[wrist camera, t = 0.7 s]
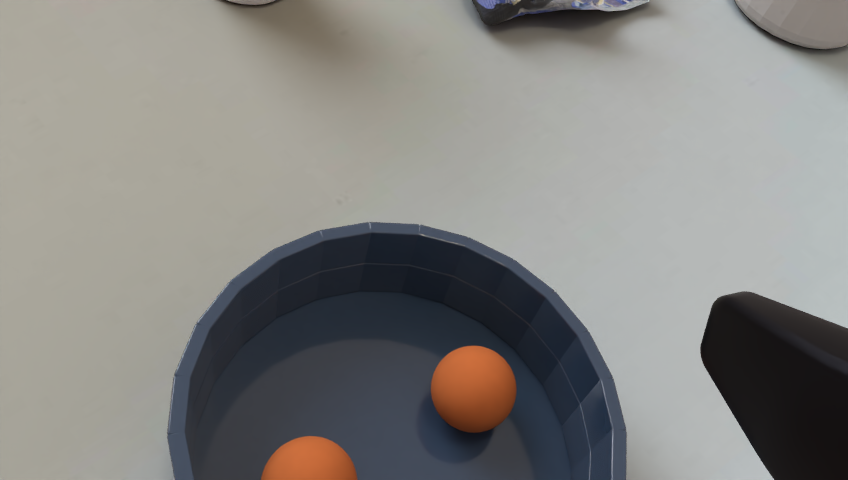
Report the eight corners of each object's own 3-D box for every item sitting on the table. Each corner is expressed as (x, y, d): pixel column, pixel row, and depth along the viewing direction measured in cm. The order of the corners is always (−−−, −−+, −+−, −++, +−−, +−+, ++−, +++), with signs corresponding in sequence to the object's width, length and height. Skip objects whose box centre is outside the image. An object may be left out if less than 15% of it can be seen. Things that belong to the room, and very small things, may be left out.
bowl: (654, 523, 28) (716, 479, 24) (314, 799, 21) (329, 795, 17) (432, 241, 33) (455, 172, 30) (110, 389, 27) (90, 324, 23)
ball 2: (519, 420, 28) (544, 384, 26) (455, 461, 27) (476, 427, 25) (471, 356, 30) (491, 316, 27) (407, 392, 28) (423, 353, 26)
